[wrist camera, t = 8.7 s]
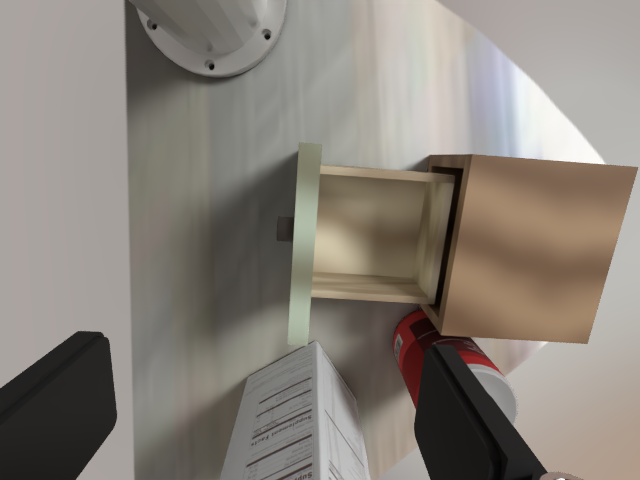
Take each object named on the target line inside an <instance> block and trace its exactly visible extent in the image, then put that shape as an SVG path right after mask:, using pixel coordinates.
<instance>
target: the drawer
mask: <svg viewBox="0 0 640 480" xmlns="http://www.w3.org/2000/svg"><path fill="white" fill-rule="evenodd" d="M321 152H322V144H312V143H299V150H298V168H297V185H296V203H295V218H291V217H279V218H278V225H277V241H290V242H293V256H292V274H291V292H290V309H289V327H288V345H302V346H308V333H309V319H310V305H311V297H320V298H337V299H353V300H369V301H385V302H402V303H418V304H434V303H435V297H436V290H437V284H438V278H439V272H440V266H441V260H442V254H443V248H444V242H445V236H446V230H447V224H448V218H449V212H450V206H451V200H452V193H453V187H454V181H455V176H453V175H446V174H439V173H431V172H417V171H404V170H390V169H377V168H364V167H350V166H337V165H324V164H321Z"/></svg>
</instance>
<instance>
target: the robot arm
mask: <svg viewBox="0 0 640 480" xmlns="http://www.w3.org/2000/svg"><path fill="white" fill-rule="evenodd" d="M128 1H130V2H131V3H132V4H133V5H134V6H136V9H137V12H138V16H139V19H140V21H141V23H142V25H143V27H144V29H145V31H146V33H147V34H148V36H149V37H150V39H151V40H152V41H153V43H154V44H155V45H156V47H157V48H158V49H159V50H160V51H161V52H162V53H163V54H164V55H165V56H166V57H168V58H169V59H170V60H172V61H173V62H174V63H176V64H177V65H179V66H181V67H183V68H184V69H186V70H188V71H190V72H193V73H196V74H198V75H201V76H207V77H214V78H219V77H230V76H234V75H237V74H241V73H243V72H245V71H247V70H249V69H251V68H253V67H255V66H256V65H257V64H258V63H259V62H261V61H262V60H263V59H264V58H265V57H266V56H267V55H268V53H269V52H270V51H271V50H272V48H273V47H274V45H275V43H276V42H277V40H278V38H279V36H280V34H281V31H282V28H283V24H284V21H285V16H286V9H287V0H128ZM156 25H157V28H156V29H154V27H155V26H156ZM266 35H270V39H269V40H266V39H265V36H266ZM211 65H214V66H215V68H214V69H213V70H210V66H211ZM116 419H117V410H116V401H115V391H114V382H113V372H112V363H111V353H110V344H109V340H108V338H106V337H104V335H103V334H102V333H101V332H90V331H78V332H76V333H75V334H73V335H72V336H71V337H69V338H68V339H67V340H66V341H64V342H63V343H61V344H60V345H58V346H57V347H56V348H54V349H53V350H52V351H50V352H49V353H48V354H46V355H45V356H44V357H42V358H41V359H40V360H38V361H37V362H36V363H34V364H33V365H32V366H30V367H29V368H27V369H26V370H25V371H24V372H22V373H21V374H19V375H18V376H16V377H15V378H14V379H13V380H11V381H10V382H9V383H7V384H6V385H4V386H3V387H2V388H0V480H76V478H77V477H78V476H79V475H80V473H81V472H82V470H83V469H84V468H85V466H86V465H87V464H88V462H89V461H90V460H91V458H92V457H93V456H94V454H95V453H96V452H97V450H98V449H99V447H100V446H101V445H102V443H103V442H104V441H105V439H106V438H107V436H108V435H109V434H110V432H111V431H112V430H113V428H114V426H115V423H116ZM414 431H415V437H416V440H417V443H418V446H419V449H420V452H421V454H422V457H423V460H424V462H425V465H426V468H427V471H428V474H429V476H430V479H431V480H583V479H581V478H578V477H576V476H573V475H571V474H566V473H561V472H549V473H548V472H547V471H546V470H545V468H544V467H543V466H542V464H541V463H540V461H538V459H537V457H536V456H535V455H534V453H533V452H532V451H531V449H530V448H529V447H528V445H527V444H526V443H525V441H524V440H523V438H522V437H521V436H520V435H519V433H518V432H517V430H516V429H515V428H514V427H513V425H512V424H511V422H510V421H509V420H508V418H507V417H506V416H505V414H504V413H503V411H502V410H501V409H500V407H499V406H498V405H497V403H496V402H495V401H494V399H493V398H492V397H491V396H490V395H489V394H488V393H487V391H486V390H485V389H484V387H483V386H482V385H481V383H480V382H479V380H478V379H477V378H476V376H475V375H474V374H473V372H472V371H471V370H470V368H469V367H468V365H467V364H466V363H465V361H464V360H463V359H462V357H461V356H460V355H459V353H458V352H457V351H456V349H455V348H454V347H453V346H452V345H432V346H431V348H430V349H426V350H425V352H424V358H423V366H422V373H421V380H420V387H419V394H418V402H417V409H416V416H415V423H414Z"/></svg>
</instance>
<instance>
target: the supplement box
mask: <svg viewBox="0 0 640 480" xmlns="http://www.w3.org/2000/svg"><path fill="white" fill-rule="evenodd" d="M219 480H370V476H369V470H368V462H367V456H366V450H365V445H364V439H363V434H362V428H361V423H360V417H359V412H358V406H357V400H356V398H355V397H354V395H353V394H352V392H351V391H350V389H349V388H348V386H347V384H346V383H345V382H344V380H343V379H342V377H341V376H340V374H339V373H338V371H337V370H336V368H335V367H334V365H333V364H332V362H331V361H330V359H329V358H328V356H327V355H326V353H325V352H324V350H323V349H322V347H321V346H320V344H319V343H318V342H317V341H314V342H312V343H310V344H308V346H305V347H303V348H301V349H299V350H297V351H295V352H293V353H292V354H290V355H288V356H286V357H284V358H282V359H281V360H279V361H277V362H275V363H273V364H271V365H269V366H267V367H266V368H264V369H262V370H260V371H258V372H256V373H254V374H253V375H251V376H249V377H248V378H247V382H246V386H245V389H244V393H243V396H242V400H241V404H240V407H239V411H238V414H237V418H236V422H235V425H234V429H233V432H232V436H231V439H230V443H229V446H228V450H227V454H226V457H225V461H224V464H223V468H222V471H221V475H220V479H219Z"/></svg>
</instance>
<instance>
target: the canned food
mask: <svg viewBox="0 0 640 480" xmlns="http://www.w3.org/2000/svg"><path fill="white" fill-rule="evenodd" d="M432 345H452V346H453V347H454V348H455V349H456V351H457V352H458V353H459V355H460V356H461V357H462V359H463V360H464V361H465V363H466V364H467V365H468V367H469V368H470V370H471V371H472V372H473V374H474V375H475V376H476V378H477V379H478V380H479V382H480V383H481V385H482V386H483V387H484V389H485V390H486V391H487V393H488V394H489V395H490V396H491V397H492V398H493V399H494V401H495V402H496V403H497V405H498V406H499V407H500V409H501V410H502V411H503V413H504V414H505V416H506V417H507V418H508V420H509V421H510V422H511V424H512V425H514V423H515V421H516V417H517V414H518V402H517V397H516V395H515V393H514V390H513V389H512V387H511V385H510V384H509V382H508V381H507V379H506V378H505V377H504V376H503V375H502V373H501V372H500V371H499V370H498V368H497V367H496V366H495V365H494V364H493V363H492V361H491V360H490V359H489V358H488V357H487V356H486V355H485V353H484V352H483V351H482V350H481V349H480V348H479V347H478V346H477V344H476V343H475V342H474V341H473V340H472V339H471V338H470V337H462V336H445V335H440V333H439V332H438V330H437V329H436V327H435V326H434V325H433V323H432V322H431V320H430V319H429V318H428V316H427V315H426V313H425V312H424V311H423V309H422V310H418V311H415V312H413V313H411V314H409V315H408V316H406V317H405V318H404V319H403V320H402V321H401V322H400V323H399V325H398V326H397V328H396V331H395V333H394V339H393V351H394V355H395V358H396V360H397V363H398V365H399V368H400V370H401V373H402V376H403V378H404V381H405V383H406V386H407V388H408V391H409V393H410V396H411V398H412V401H413V403H414V406H415V408H416V409H417V402H418V394H419V387H420V380H421V373H422V366H423V358H424V352H425V350H426V349H430V348H431V346H432Z"/></svg>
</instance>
